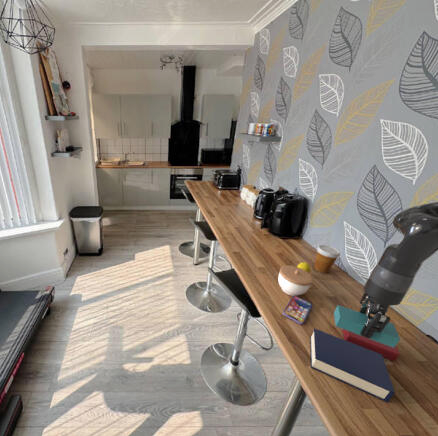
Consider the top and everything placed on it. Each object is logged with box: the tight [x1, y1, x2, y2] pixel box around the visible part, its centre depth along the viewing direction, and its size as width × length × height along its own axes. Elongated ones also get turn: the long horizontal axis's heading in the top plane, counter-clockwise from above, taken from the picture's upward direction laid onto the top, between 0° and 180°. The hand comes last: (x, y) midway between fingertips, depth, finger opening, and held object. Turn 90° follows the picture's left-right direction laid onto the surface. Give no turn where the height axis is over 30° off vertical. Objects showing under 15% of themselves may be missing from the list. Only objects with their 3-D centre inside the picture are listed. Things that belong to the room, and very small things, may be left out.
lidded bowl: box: [277, 265, 314, 297], centre depth 103 cm, size 13×13×11 cm
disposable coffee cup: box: [313, 244, 341, 274], centre depth 119 cm, size 10×10×12 cm
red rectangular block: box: [342, 329, 401, 362], centre depth 80 cm, size 13×6×4 cm, turn 59°
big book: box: [309, 327, 396, 403], centre depth 73 cm, size 18×13×4 cm
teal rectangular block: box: [333, 304, 401, 348], centre depth 68 cm, size 13×6×4 cm, turn 58°
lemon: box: [296, 261, 311, 274], centre depth 114 cm, size 6×6×8 cm
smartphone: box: [282, 295, 313, 325], centre depth 95 cm, size 1×7×15 cm
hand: (362, 327), depth 69 cm, fingers closed on teal rectangular block, 6 cm apart
